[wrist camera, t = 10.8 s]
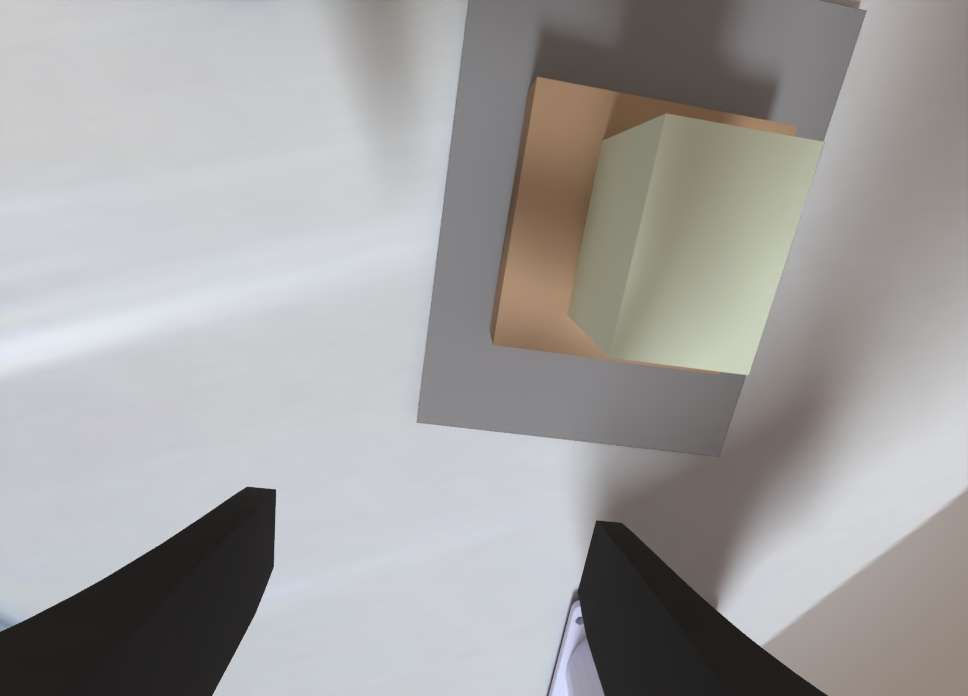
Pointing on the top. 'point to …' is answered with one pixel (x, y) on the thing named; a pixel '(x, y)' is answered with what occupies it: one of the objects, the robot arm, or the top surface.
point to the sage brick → (689, 240)
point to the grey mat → (490, 175)
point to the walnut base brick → (567, 207)
